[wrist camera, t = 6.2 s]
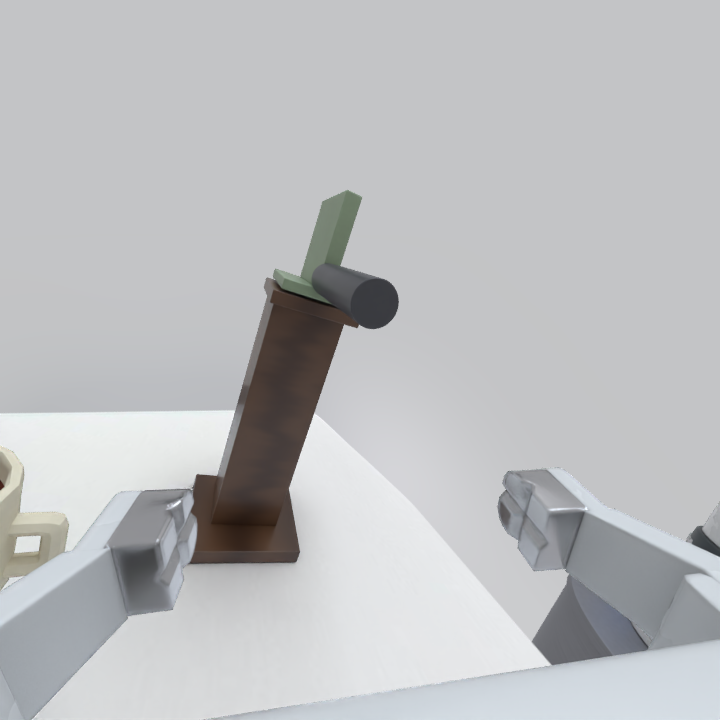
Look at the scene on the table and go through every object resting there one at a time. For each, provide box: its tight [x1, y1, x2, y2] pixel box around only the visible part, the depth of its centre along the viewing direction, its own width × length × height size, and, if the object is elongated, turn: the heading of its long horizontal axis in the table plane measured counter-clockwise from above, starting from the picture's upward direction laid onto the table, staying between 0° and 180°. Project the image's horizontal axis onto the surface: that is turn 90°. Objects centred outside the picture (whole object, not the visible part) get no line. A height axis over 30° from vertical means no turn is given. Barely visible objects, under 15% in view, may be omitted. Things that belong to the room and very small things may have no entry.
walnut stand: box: [189, 278, 359, 563], centre depth 31 cm, size 10×10×24 cm
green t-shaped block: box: [273, 190, 399, 329], centre depth 23 cm, size 6×18×8 cm, turn 19°
